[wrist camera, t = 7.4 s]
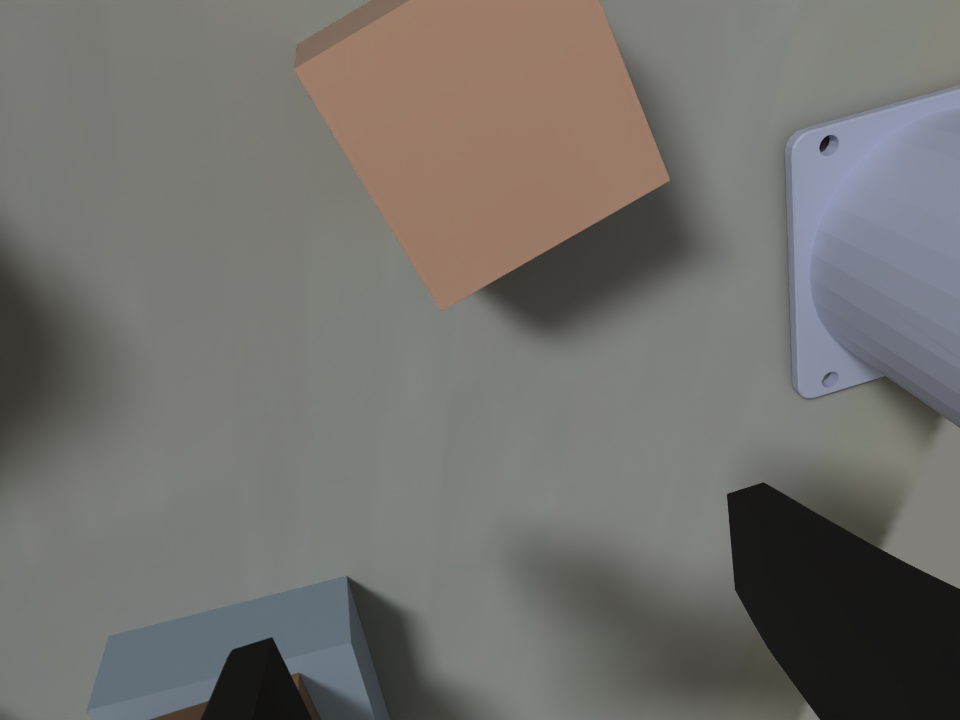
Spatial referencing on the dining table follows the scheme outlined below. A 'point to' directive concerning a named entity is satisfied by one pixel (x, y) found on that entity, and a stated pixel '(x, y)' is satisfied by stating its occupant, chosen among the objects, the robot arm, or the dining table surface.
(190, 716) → the walnut block
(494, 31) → the terracotta block
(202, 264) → the dining table surface
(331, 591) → the blue slab
